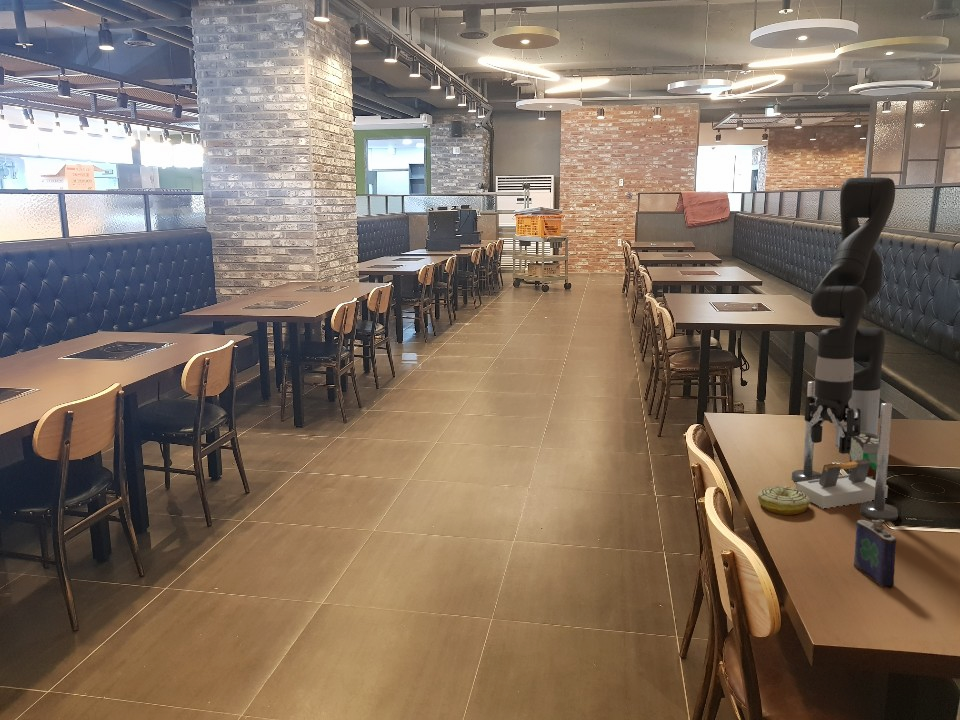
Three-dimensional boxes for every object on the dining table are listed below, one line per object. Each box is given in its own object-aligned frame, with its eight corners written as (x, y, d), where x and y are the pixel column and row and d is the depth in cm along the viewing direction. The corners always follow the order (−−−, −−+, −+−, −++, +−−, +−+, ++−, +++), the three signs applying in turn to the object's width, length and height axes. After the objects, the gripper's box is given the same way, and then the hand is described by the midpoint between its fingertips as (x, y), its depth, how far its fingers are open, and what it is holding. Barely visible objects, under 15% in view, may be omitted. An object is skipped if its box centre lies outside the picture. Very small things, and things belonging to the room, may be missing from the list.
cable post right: (852, 511, 159) (859, 401, 155) (879, 506, 161) (887, 398, 156) (877, 523, 153) (886, 409, 148) (905, 518, 155) (914, 406, 150)
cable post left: (785, 477, 180) (789, 380, 175) (809, 474, 182) (814, 377, 177) (805, 487, 174) (810, 386, 169) (829, 483, 175) (835, 383, 171)
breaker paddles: (818, 483, 166) (824, 465, 164) (860, 477, 169) (865, 458, 167) (823, 487, 164) (828, 468, 162) (865, 481, 167) (870, 462, 165)
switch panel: (795, 494, 169) (796, 481, 169) (856, 485, 174) (857, 472, 173) (823, 509, 161) (824, 495, 160) (886, 498, 165) (887, 485, 165)
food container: (890, 486, 172) (893, 445, 170) (861, 485, 174) (864, 444, 172) (873, 468, 184) (876, 430, 182) (847, 467, 185) (849, 429, 183)
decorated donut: (816, 506, 163) (817, 489, 163) (798, 521, 156) (799, 504, 155) (769, 495, 170) (770, 479, 170) (750, 509, 163) (751, 493, 162)
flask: (850, 564, 136) (854, 510, 134) (864, 563, 136) (869, 509, 134) (883, 589, 127) (888, 531, 125) (899, 587, 127) (904, 530, 125)
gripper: (873, 381, 155) (868, 455, 158) (825, 369, 168) (821, 436, 172) (844, 384, 153) (839, 459, 156) (797, 371, 167) (794, 440, 170)
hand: (829, 447), depth 164 cm, fingers open, 8 cm apart
